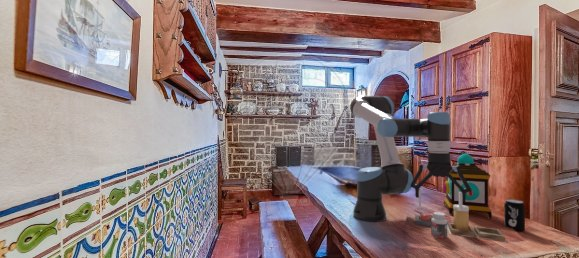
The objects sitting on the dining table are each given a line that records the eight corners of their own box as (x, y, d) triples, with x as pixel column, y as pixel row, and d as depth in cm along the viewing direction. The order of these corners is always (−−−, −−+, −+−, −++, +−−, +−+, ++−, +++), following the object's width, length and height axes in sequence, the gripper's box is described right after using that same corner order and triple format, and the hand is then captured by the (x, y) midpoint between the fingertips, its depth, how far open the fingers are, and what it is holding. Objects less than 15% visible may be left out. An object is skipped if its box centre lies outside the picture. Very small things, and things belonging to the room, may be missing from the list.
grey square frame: (415, 227, 114) (415, 220, 114) (415, 221, 121) (415, 215, 121) (436, 230, 110) (436, 223, 111) (435, 224, 118) (435, 217, 118)
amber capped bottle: (454, 232, 105) (454, 207, 105) (452, 228, 110) (452, 204, 110) (470, 234, 103) (470, 208, 103) (467, 230, 107) (467, 205, 108)
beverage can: (528, 232, 108) (528, 203, 108) (510, 231, 109) (510, 202, 109) (518, 227, 114) (518, 199, 115) (501, 226, 116) (500, 198, 116)
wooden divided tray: (449, 237, 103) (449, 230, 103) (446, 228, 112) (446, 222, 113) (507, 245, 96) (507, 237, 96) (499, 235, 105) (499, 228, 105)
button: (420, 224, 115) (420, 215, 115) (420, 221, 118) (420, 212, 118) (430, 226, 113) (430, 216, 113) (430, 223, 117) (430, 214, 117)
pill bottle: (429, 239, 101) (429, 213, 101) (433, 235, 105) (432, 210, 105) (445, 243, 98) (445, 216, 98) (448, 238, 102) (448, 213, 102)
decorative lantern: (446, 215, 130) (446, 154, 131) (440, 205, 149) (440, 151, 149) (496, 220, 123) (495, 155, 123) (483, 209, 141) (483, 152, 142)
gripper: (403, 152, 103) (404, 206, 103) (480, 153, 93) (481, 214, 93) (403, 151, 110) (404, 202, 110) (475, 152, 100) (476, 209, 99)
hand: (439, 208), depth 101 cm, fingers open, 13 cm apart
